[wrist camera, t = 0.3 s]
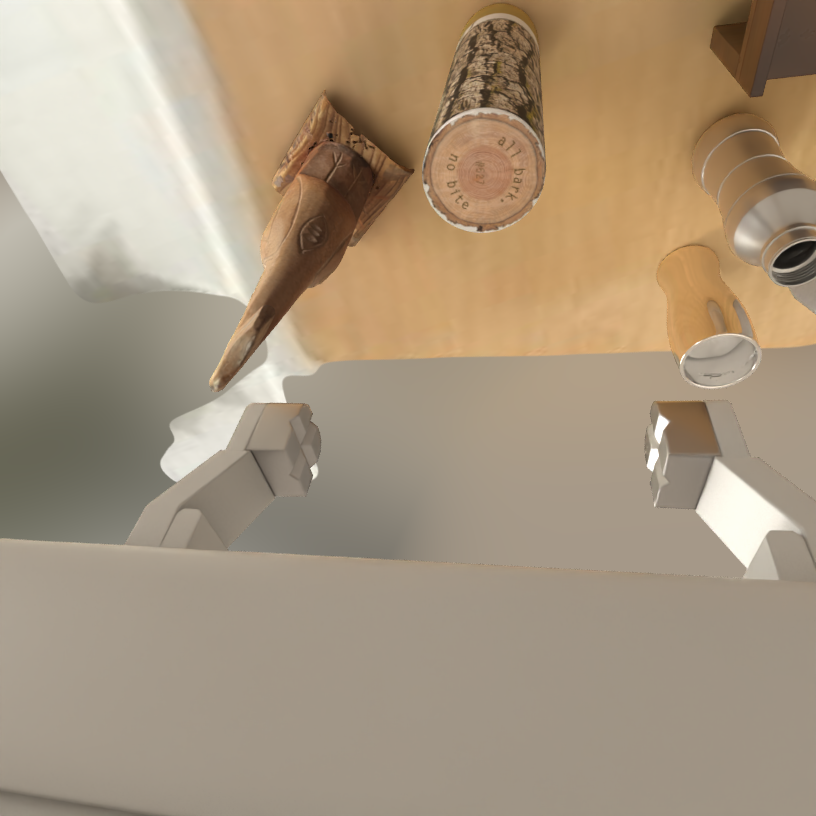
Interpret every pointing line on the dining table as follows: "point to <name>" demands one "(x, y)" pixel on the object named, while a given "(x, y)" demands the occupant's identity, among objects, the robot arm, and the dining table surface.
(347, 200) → the bird sculpture
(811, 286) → the paper bag
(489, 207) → the wooden log
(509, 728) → the robot arm
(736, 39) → the bench
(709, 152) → the silver metal bottle
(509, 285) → the dining table surface
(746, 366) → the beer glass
